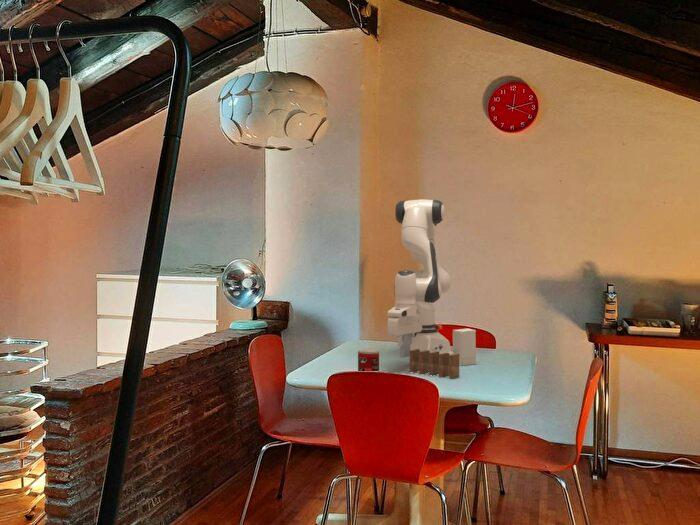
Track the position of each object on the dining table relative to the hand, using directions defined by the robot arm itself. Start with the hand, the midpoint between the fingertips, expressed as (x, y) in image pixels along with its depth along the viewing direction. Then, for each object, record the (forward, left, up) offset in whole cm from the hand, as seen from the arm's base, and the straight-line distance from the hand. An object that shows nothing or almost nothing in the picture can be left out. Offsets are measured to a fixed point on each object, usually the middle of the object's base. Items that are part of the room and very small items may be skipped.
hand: (405, 345), depth 288 cm
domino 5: (-8, +16, -11) cm, 21 cm away
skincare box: (-30, -2, -11) cm, 32 cm away
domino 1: (0, 0, -5) cm, 5 cm away
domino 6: (-10, +20, -11) cm, 25 cm away
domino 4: (-6, +12, -11) cm, 17 cm away
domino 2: (-2, +4, -11) cm, 11 cm away
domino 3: (-4, +8, -11) cm, 14 cm away
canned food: (+21, +7, -11) cm, 25 cm away
